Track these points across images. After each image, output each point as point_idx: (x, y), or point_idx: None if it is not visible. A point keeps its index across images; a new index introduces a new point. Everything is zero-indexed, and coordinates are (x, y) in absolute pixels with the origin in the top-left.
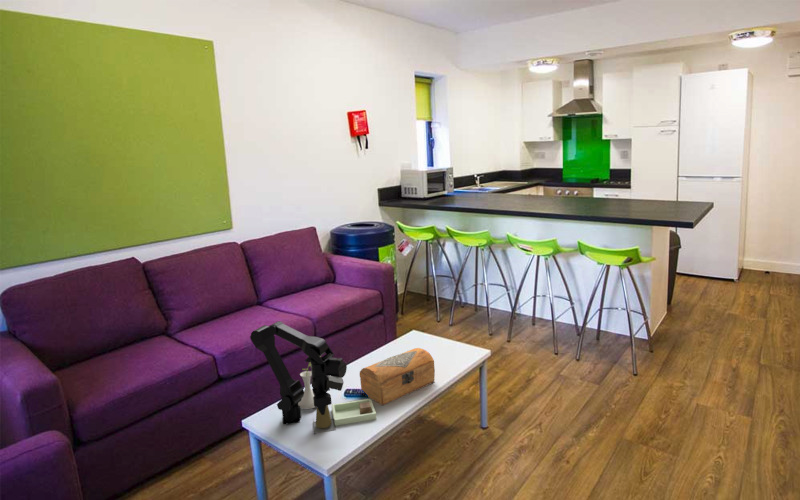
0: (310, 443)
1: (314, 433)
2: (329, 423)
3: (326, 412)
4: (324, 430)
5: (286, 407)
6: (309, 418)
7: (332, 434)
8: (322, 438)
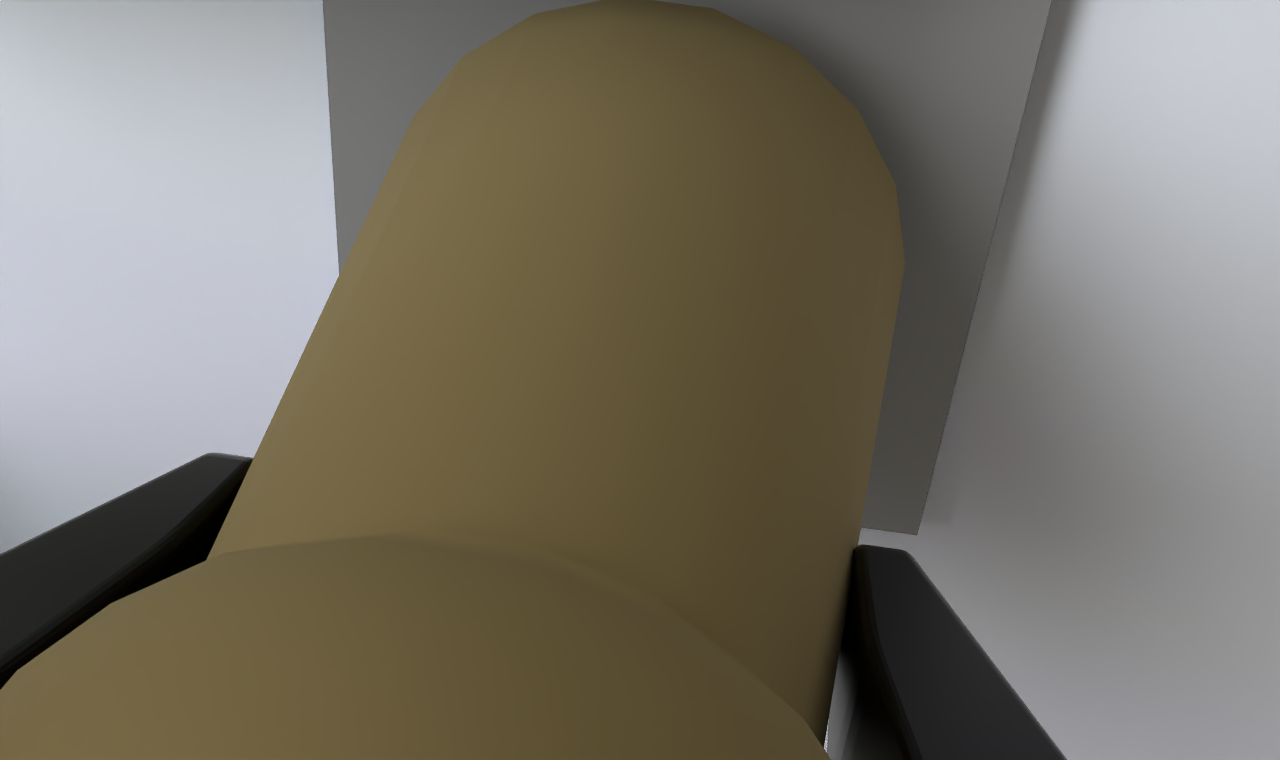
0: (1274, 659)
1: (917, 521)
2: (848, 142)
3: (822, 465)
4: (923, 273)
5: None
6: (126, 464)
7: (1223, 70)
8: (1245, 380)
